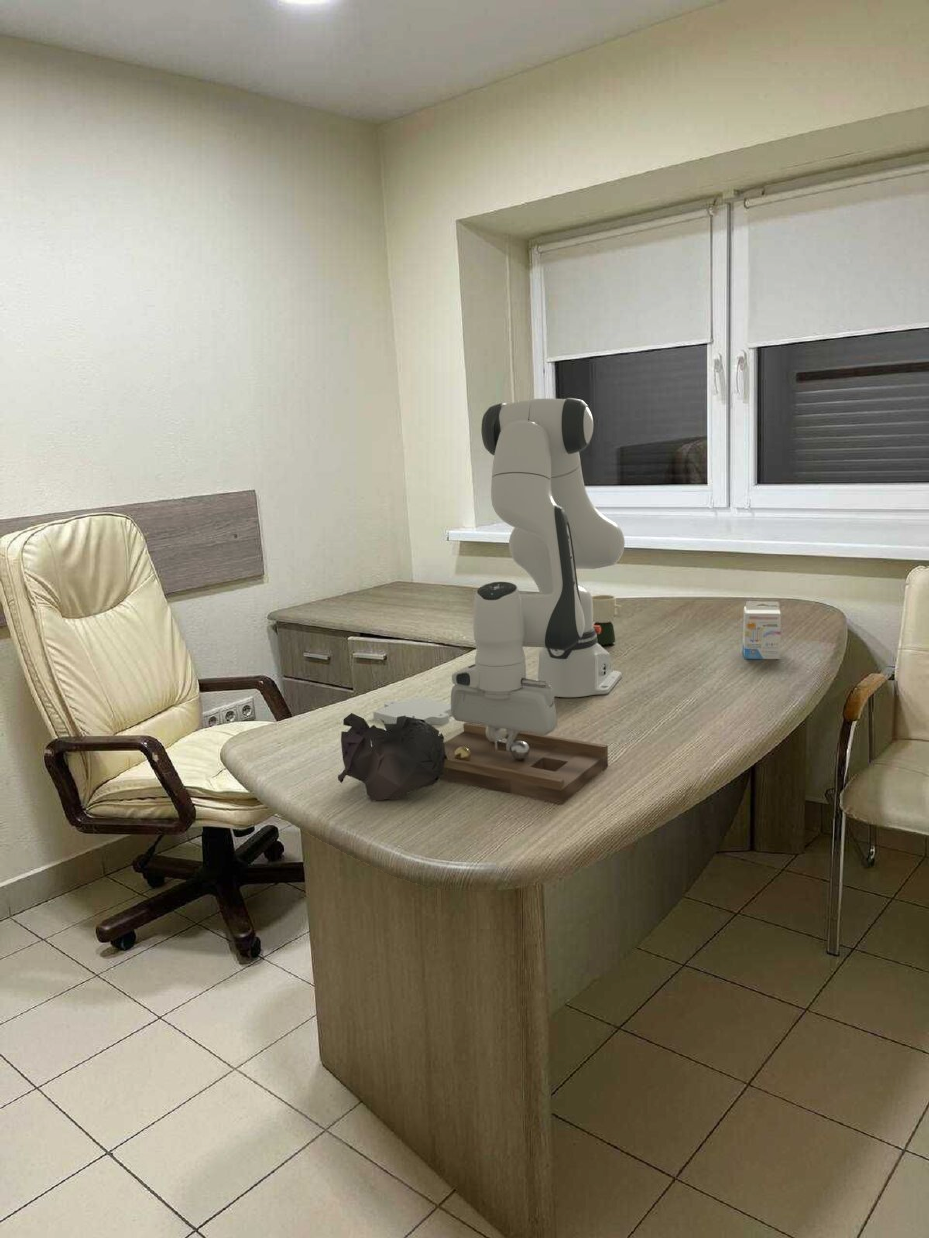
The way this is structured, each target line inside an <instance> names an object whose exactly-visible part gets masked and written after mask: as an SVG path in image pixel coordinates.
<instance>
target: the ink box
mask: <svg viewBox="0 0 929 1238" xmlns="http://www.w3.org/2000/svg"><path fill="white" fill-rule="evenodd" d="M745 603H746V604H745V605H744V606H743V618H742V619H743V623H742V625H743V626H742V649H741V650H742V654H743V657H744V659H745V660H780V659H781V639H782V638H781V637H782V635H781V634H782V633H781V632H782V629H781V628H782V612H781V610H780V602H779V601H756V600H755V601H749V600H748V601H747V602H745ZM762 604H763V605H766V606H763V605H762ZM759 605H762V606H759Z"/></svg>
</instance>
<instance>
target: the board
mask: <svg viewBox="0 0 929 1238" xmlns="http://www.w3.org/2000/svg"><path fill="white" fill-rule="evenodd" d="M462 726H463V731H461V732H460V733H459V734H457V735H455V736H453V737H452V738H450V739H448V740H446V741H443V742H444V745H445V753H446V756H447V759H448V760H447V759H445V763H444V769H443V776H442V777H441V778H439V781H446V782H450V783H455V784H461V785H464V786H465V785H466V786H470V787H474V788H475V787H476V788H479V789H484V790H488V791H489V790H490V791H493V792H499V793H504V794H508V795H514V796H517V797H518V796H519V797H524V798H528V799H534V800H538V801H544V802H548V803H552V804H553V803H554V804H558V805H561V806H562V805H563V804H565V802H567V801H568V800H569V799H570V798H571V797H573V796H574V795H575V794H576V793H577V792H579V791H580V790H582V788H584V787H585V786H586V785H588V784H589V783H590V782H591V781H593V779H595V778H596V777H597V776H599V774H601V773H602V772H603V771H605V770H606V769H607V768H608V767H609V760H608V759H609V758H608V757H609V755H608V753H609V751H608V745H607V744H602V743H597V742H596V743H595V742H589V741H582V740H576V739H572V738H571V739H570V738H564V737H560V736H559V737H558V736H552V735H548V734H547V735H541V734H535V733H529V732H523V731H519V732H518V734H517V736H516V738H515V740H514V743H515V742H517V741H524V742H526V743H527V744H528V745H529V747H530V754H529V756H528V757H527V758H526V759H524V760H517V759H515V758H514V757H513V756H512V754H511V752H507V751H502V750H496V749H495V743H493V742H491V741H489V740H488V738H487V737H486V733H485V731H486V728H487V726H486V725H480V724H474V723H468V722H463V724H462ZM508 736H509V734H507V735H506V737H505V739H507V738H508ZM459 747H466V748H468V749H469V750H470V752H471V759H470V760H469V761H464V760H459V759H455V757H454V753H455V751H456V749H457V748H459ZM448 752H449V754H448ZM448 769H449V770H448ZM447 770H448V772H447Z"/></svg>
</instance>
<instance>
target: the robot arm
mask: <svg viewBox="0 0 929 1238" xmlns="http://www.w3.org/2000/svg"><path fill="white" fill-rule="evenodd" d="M481 419H482V420H481V428H480V429H481V430H480V432H481V439H482V443H483V446H484V448H485V449H486V451H487V452H489V454H491V455H492V456H493V462H492V471H491V472H492V473H491V482H490V483H491V485H490V487H491V488H490V497H491V498H490V499H491V505H492V508H493V510H494V512H495V514H496V515H497V517H499V518H500V519H501V520H502V521H503V522H504V523H506V524H507V525H509V526H511V527H513V530H512V531H511V533H510V536H509V539H508V548H509V553H510V555H511V558H512V559H513V561H514V562H515V563H516V565H518V566H520V567H521V568H522V569H523V570H524V571H526V572H527V574H528V575H529V576H530V577H531V578H532V580H533V581H534V583H535V585H536V587H537V589H538V591H539V594H538V593H533V594H532V593H531V594H530V593H528V594H527V593H520V590H519V588H518V587H519V586H517V585H516V584H514V583H512V582H509V581H494V582H490V583H486V584H483V585H482V586H480V587H479V588H477V590H476V591H475V595H474V601H473V602H474V603H473V616H472V617H473V618H472V621H473V622H472V623H473V625H472V627H473V629H472V630H473V638H474V642H475V646H476V653H475V657H474V664H470V665H467V666H465V667H463V668H461V669H459V670H456V671H455V672H454V673H452V674H451V682H452V684H453V686H452V688H451V691H450V704H451V714H452V716H451V717H453V719H454V721H457V722H463V723H473V724H479V725H485V726H488V729H489V733H490V734H491V736H492V738H493V740H494V741H495V749H496V750H502V751H507V752H511V747H512V745H513V744H514V740H515V738H516V736H517V734H518V732H519V731H522V732H528V733H534V734H541V735H547V736H548V734H551V732H553V731H554V730H555V729H556V728H557V726H558V719H557V711H556V705H555V697H557V698H558V697H560V698H580V697H587V696H595V695H607V694H609V693H610V692H611V691H612V689H613V688H614V687H615V686H616V684H617V683H618V682H619V680H620V679H621V678H622V672H621V671H619V670H615V669H612V659H611V654H610V653H609V652H608V651H607V650H606V648H604V647H602V645H599V644H598V643H597V642H598V640H597V634H600V633H601V627H600V625H597V626H595V625H594V622H593V606H592V597H591V596H592V595H591V593H590V591H589V590H588V589H587V588H586V587H584V586H583V585H581V584H579V583H578V577H577V570H579V569H580V570H581V569H582V570H585V569H586V570H587V569H588V570H595V569H602V568H605V567H610V566H614V565H616V564H617V563H618V561H620V560H621V557H622V556H623V553H624V551H625V546H626V545H625V536H624V533H623V531H622V529H621V528H620V526H619V525H618V524H617V523H616V522H615V521H613V520H611V519H609V518H607V517H606V516H605V515H604V514H603V513H601V512H600V511H599V510H598V509H597V508H596V506H595V505H594V503H592V501H591V500H590V498H589V496H588V493H587V490H586V487H585V482H584V477H583V471H582V464H581V463H582V462H581V457H580V452H583V451H584V450H585V449H586V448H587V447H588V446H589V445H590V443H591V440H592V436H593V433H594V419H593V414H592V412H591V409H590V406H589V405H588V404H587V403H586V402H585V401H584V400H582V399H580V398H579V399H578V398H573V397H567V398H534V399H528V400H521V401H515V402H510V403H505V402H501V403H497V404H494V405H491V406H489V407H488V408H487V409H486V411H485V412H484V413H483V415H482V418H481ZM525 647H526V648H542V649H540V650H539V652H538V662H537V663H538V664H537V665H538V666H537V678H535V679H531V678H527V669H526V668H527V667H526V666H527V665H526V654H525V651H524V648H525ZM501 728H504V729H506V734H509V736H508V738H507V739H504V738H503V737H502V735H501V733H500V731H499V729H501Z"/></svg>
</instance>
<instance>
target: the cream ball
mask: <svg viewBox="0 0 929 1238" xmlns="http://www.w3.org/2000/svg"><path fill="white" fill-rule="evenodd" d="M499 731H500V733H501V735H502V737H503V738H504V739H505V737H506V735H507V734H506V729H504V728H501V729H499ZM485 733H486V737H487V738H488V740H489V741H491V742H493V743H495V741H494V740H493V738H492V736H491V734H490V733H489V729H488V726H487V728H486V731H485Z"/></svg>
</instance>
